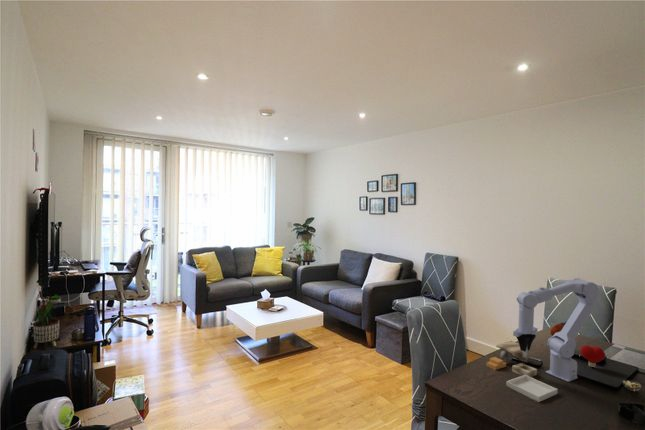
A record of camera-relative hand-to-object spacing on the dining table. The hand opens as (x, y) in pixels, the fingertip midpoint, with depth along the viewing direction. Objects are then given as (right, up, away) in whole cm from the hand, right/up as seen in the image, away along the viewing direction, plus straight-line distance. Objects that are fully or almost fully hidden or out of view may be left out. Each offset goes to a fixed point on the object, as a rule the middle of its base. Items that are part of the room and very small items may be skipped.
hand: (524, 350), depth 152 cm
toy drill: (+34, -11, +27) cm, 45 cm away
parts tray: (-6, -11, -14) cm, 19 cm away
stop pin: (0, -3, 0) cm, 3 cm away
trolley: (0, -10, +12) cm, 16 cm away
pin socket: (0, -10, 0) cm, 10 cm away
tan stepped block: (-10, -10, +6) cm, 16 cm away
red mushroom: (+36, -11, +7) cm, 38 cm away
